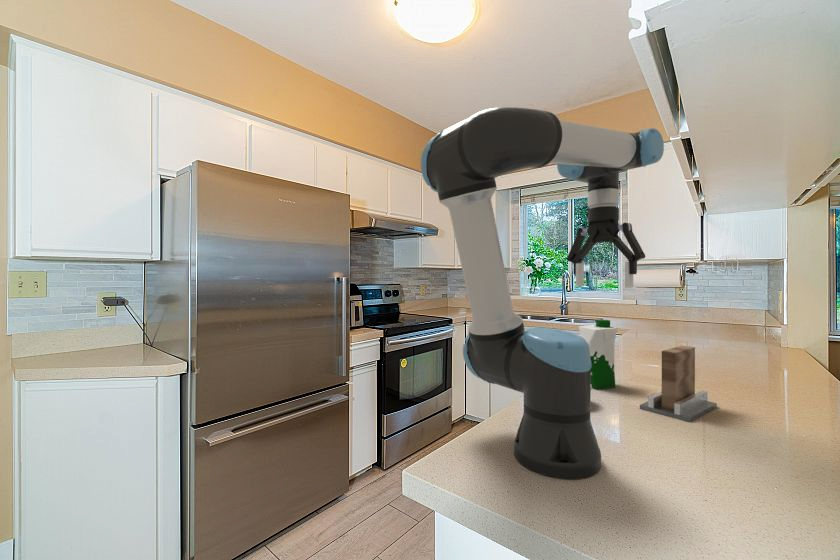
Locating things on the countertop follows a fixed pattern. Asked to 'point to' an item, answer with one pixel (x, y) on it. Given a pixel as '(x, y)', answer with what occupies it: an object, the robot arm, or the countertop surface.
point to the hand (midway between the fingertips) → (603, 287)
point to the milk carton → (601, 353)
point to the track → (681, 406)
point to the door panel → (677, 375)
